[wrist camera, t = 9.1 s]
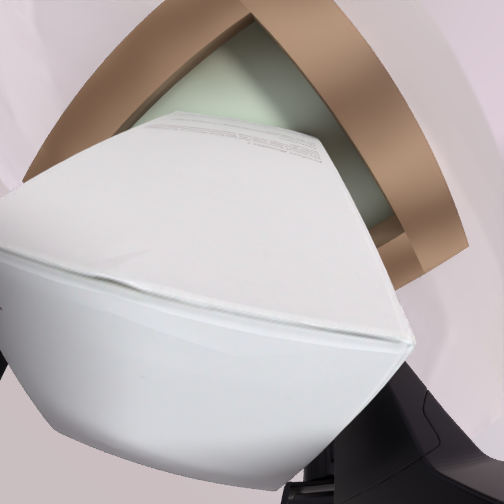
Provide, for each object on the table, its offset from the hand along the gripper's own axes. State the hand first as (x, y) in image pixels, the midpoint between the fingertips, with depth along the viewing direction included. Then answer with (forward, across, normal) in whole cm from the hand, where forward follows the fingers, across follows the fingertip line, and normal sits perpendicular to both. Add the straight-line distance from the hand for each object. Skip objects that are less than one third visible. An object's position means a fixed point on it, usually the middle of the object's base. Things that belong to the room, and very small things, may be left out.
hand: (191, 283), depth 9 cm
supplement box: (+8, 0, 0) cm, 8 cm away
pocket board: (+9, 0, 0) cm, 9 cm away
